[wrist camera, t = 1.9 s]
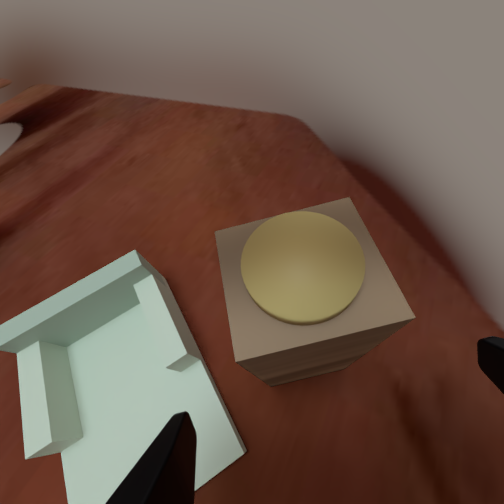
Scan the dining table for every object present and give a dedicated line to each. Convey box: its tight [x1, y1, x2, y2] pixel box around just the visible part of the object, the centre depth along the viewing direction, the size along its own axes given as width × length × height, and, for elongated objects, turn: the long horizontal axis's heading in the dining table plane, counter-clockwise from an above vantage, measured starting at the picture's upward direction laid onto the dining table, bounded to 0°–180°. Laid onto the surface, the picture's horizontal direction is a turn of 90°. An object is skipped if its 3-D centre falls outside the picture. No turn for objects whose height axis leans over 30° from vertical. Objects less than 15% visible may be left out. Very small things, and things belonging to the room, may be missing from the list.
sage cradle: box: [0, 250, 247, 504], centre depth 16 cm, size 14×10×5 cm
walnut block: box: [215, 197, 415, 387], centre depth 13 cm, size 4×5×13 cm
